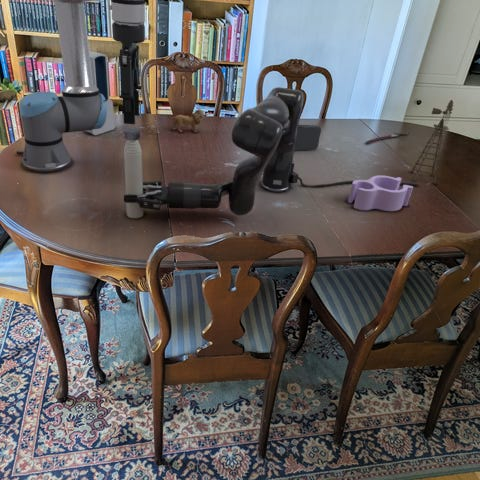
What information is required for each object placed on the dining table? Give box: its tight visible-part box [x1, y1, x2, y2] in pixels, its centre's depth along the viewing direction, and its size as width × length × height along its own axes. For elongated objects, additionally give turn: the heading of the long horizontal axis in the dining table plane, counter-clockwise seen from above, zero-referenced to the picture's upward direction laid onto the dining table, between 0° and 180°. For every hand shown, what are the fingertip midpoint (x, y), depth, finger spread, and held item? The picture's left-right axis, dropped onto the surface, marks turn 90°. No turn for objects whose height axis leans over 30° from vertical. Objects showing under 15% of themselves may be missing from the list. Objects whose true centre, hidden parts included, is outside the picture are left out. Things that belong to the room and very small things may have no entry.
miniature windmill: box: [410, 99, 454, 185], centre depth 171 cm, size 9×8×30 cm
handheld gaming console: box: [294, 124, 322, 151], centre depth 189 cm, size 23×3×10 cm, turn 108°
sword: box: [365, 132, 410, 145], centre depth 213 cm, size 31×3×1 cm, turn 126°
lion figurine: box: [169, 108, 205, 133], centre depth 196 cm, size 15×5×9 cm, turn 110°
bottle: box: [123, 139, 144, 219], centre depth 130 cm, size 5×5×25 cm
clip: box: [347, 175, 414, 212], centre depth 156 cm, size 20×12×7 cm, turn 109°
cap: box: [124, 126, 141, 141], centre depth 124 cm, size 4×4×2 cm
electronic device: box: [83, 50, 116, 136], centre depth 182 cm, size 12×8×30 cm, turn 148°
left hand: (131, 118), depth 122 cm, fingers open, 6 cm apart
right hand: (125, 194), depth 133 cm, fingers closed on bottle, 5 cm apart
